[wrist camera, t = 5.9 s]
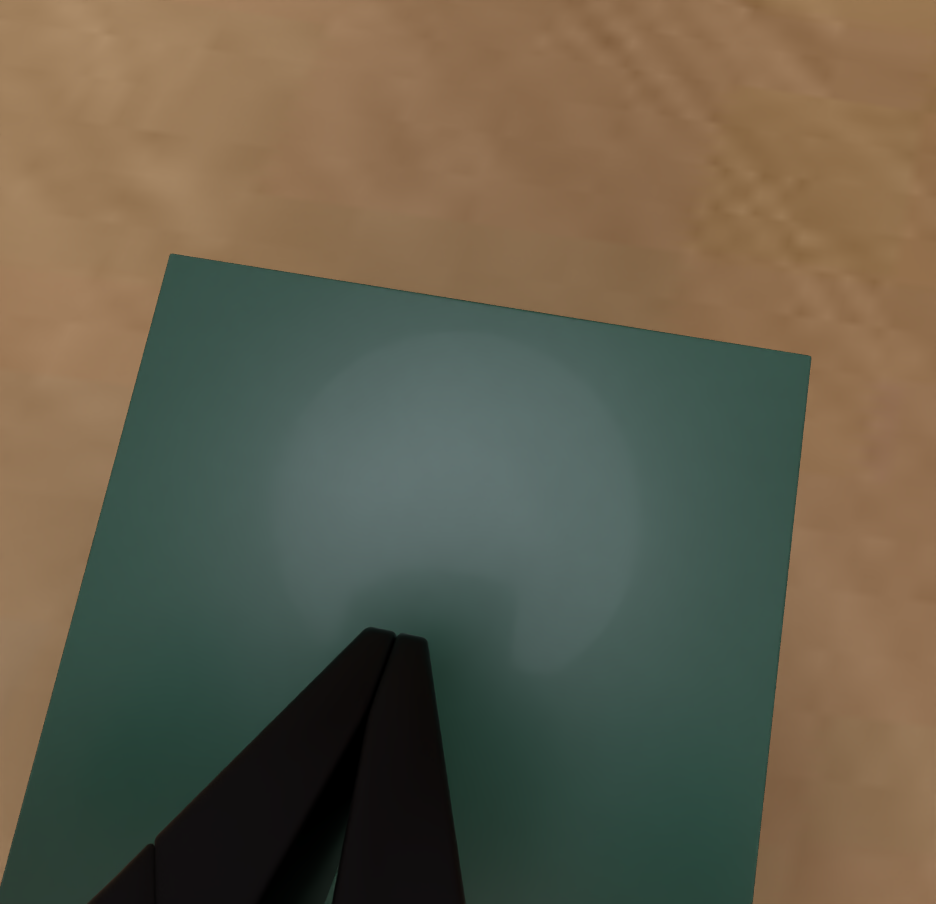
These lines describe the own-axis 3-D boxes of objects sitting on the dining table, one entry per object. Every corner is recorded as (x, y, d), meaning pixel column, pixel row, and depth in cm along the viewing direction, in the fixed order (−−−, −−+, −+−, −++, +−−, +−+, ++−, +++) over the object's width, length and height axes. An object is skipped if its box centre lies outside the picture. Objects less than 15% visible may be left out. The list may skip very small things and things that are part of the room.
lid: (188, 269, 13) (169, 251, 12) (792, 367, 12) (813, 354, 11) (-25, 1079, 11) (-65, 1121, 10) (691, 1264, 10) (708, 1325, 9)
